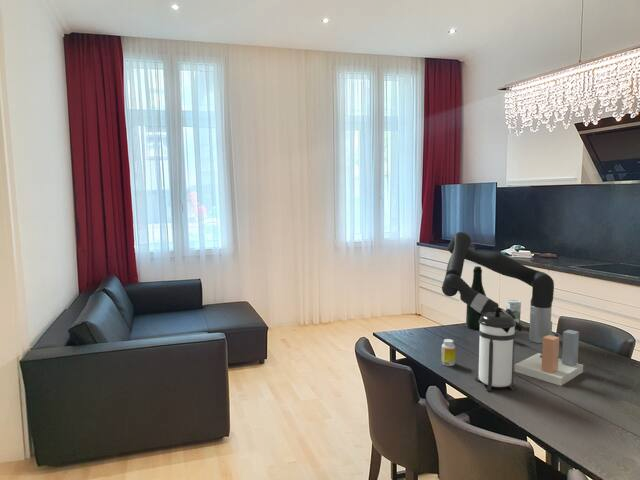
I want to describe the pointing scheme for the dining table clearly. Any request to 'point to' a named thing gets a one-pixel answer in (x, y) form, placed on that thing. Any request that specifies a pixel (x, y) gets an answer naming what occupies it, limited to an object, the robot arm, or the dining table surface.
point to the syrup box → (514, 308)
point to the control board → (559, 377)
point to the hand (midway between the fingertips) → (522, 329)
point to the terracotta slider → (550, 353)
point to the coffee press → (496, 349)
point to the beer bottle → (471, 314)
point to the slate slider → (570, 347)
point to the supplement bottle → (448, 353)
